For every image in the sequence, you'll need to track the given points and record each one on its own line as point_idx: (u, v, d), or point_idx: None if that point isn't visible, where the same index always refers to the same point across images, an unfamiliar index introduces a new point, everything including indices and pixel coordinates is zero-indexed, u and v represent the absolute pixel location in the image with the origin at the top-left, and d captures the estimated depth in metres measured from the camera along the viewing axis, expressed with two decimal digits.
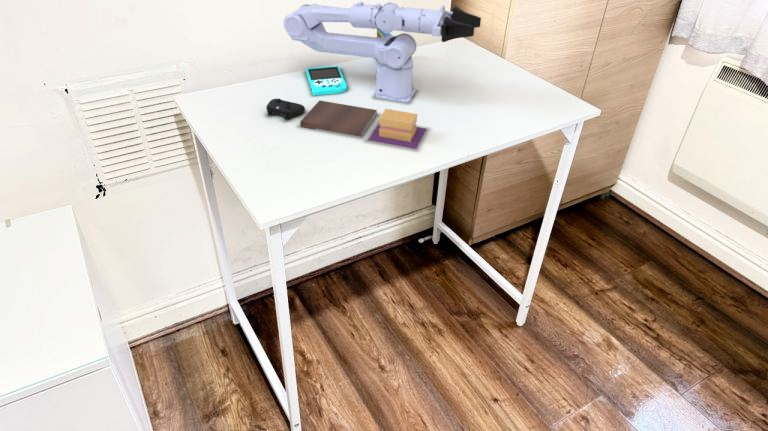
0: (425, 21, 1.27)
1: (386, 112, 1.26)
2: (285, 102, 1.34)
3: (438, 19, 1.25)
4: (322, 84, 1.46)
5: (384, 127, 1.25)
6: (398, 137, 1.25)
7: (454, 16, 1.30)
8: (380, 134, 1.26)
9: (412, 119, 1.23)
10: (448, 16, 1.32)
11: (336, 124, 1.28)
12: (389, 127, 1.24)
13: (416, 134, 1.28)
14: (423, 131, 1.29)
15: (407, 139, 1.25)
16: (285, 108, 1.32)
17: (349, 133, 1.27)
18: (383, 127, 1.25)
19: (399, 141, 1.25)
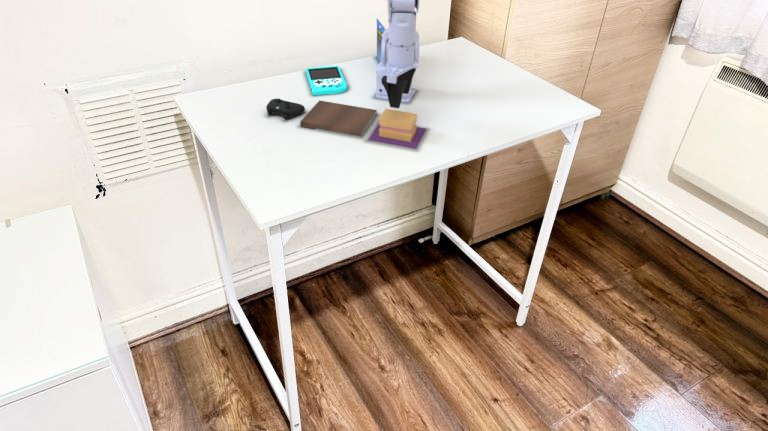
0: (401, 53, 1.12)
1: (386, 112, 1.26)
2: (285, 102, 1.34)
3: (404, 71, 1.13)
4: (322, 84, 1.46)
5: (384, 127, 1.25)
6: (398, 137, 1.25)
7: None
8: (380, 134, 1.26)
9: (412, 119, 1.23)
10: None
11: (336, 124, 1.28)
12: (389, 127, 1.24)
13: (416, 134, 1.28)
14: (423, 131, 1.29)
15: (407, 139, 1.25)
16: (285, 108, 1.32)
17: (349, 133, 1.27)
18: (383, 127, 1.25)
19: (399, 141, 1.25)
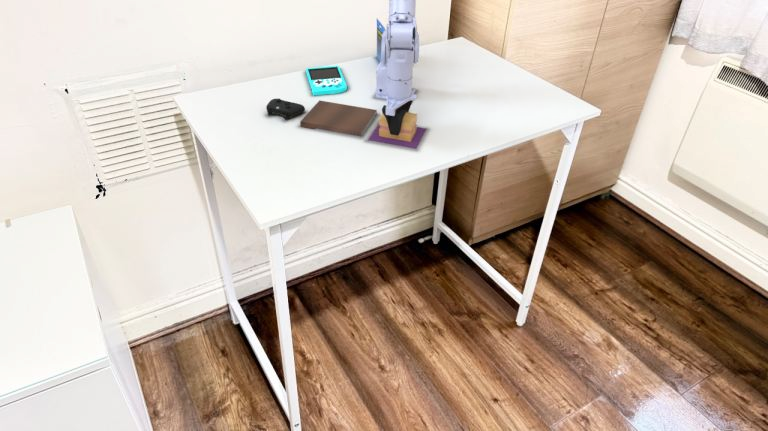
0: (399, 87, 1.17)
1: None
2: (285, 102, 1.34)
3: (402, 103, 1.18)
4: (322, 84, 1.46)
5: (384, 127, 1.25)
6: (398, 137, 1.25)
7: None
8: (380, 133, 1.26)
9: (412, 119, 1.23)
10: None
11: (336, 124, 1.28)
12: None
13: (416, 134, 1.28)
14: (423, 131, 1.29)
15: (407, 139, 1.25)
16: (285, 108, 1.32)
17: (349, 133, 1.27)
18: (383, 127, 1.25)
19: (399, 141, 1.25)
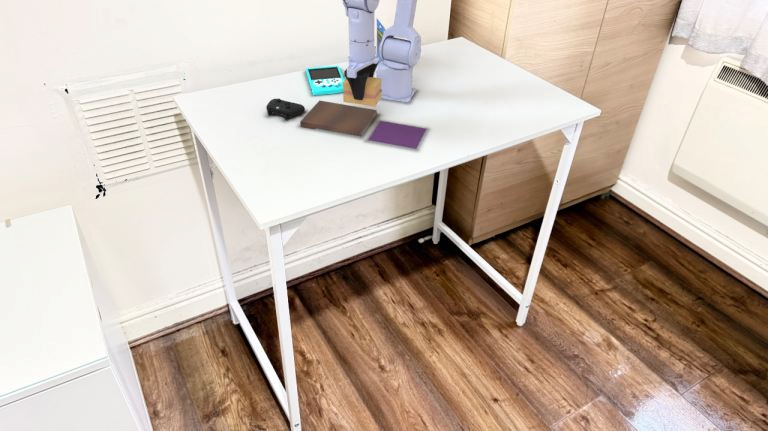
0: (361, 48, 1.15)
1: None
2: (285, 102, 1.34)
3: (364, 66, 1.17)
4: (322, 84, 1.46)
5: (348, 92, 1.23)
6: (362, 102, 1.24)
7: None
8: (344, 99, 1.25)
9: (376, 83, 1.22)
10: None
11: (336, 124, 1.28)
12: None
13: (416, 134, 1.28)
14: (423, 131, 1.29)
15: (371, 104, 1.23)
16: (285, 108, 1.32)
17: (349, 133, 1.27)
18: (347, 92, 1.24)
19: (399, 141, 1.25)
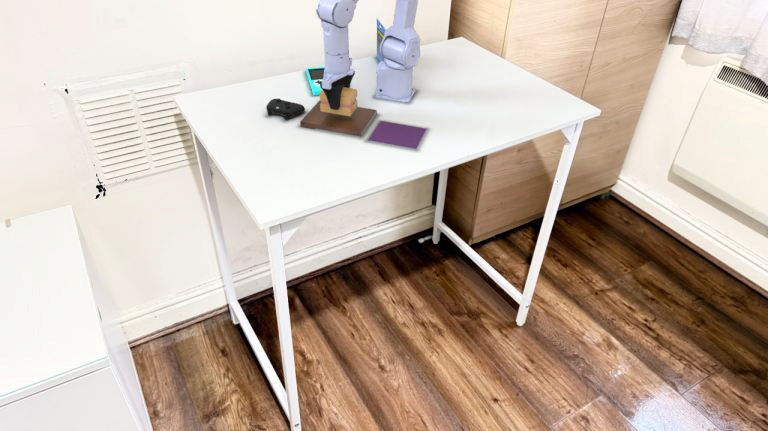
0: (335, 61, 1.20)
1: None
2: (285, 102, 1.34)
3: (339, 77, 1.21)
4: None
5: (324, 102, 1.28)
6: (338, 112, 1.28)
7: None
8: (321, 108, 1.29)
9: (351, 94, 1.26)
10: None
11: (336, 124, 1.28)
12: None
13: (416, 134, 1.28)
14: (423, 131, 1.29)
15: (347, 113, 1.28)
16: (285, 108, 1.32)
17: (349, 133, 1.27)
18: (323, 102, 1.28)
19: (399, 141, 1.25)
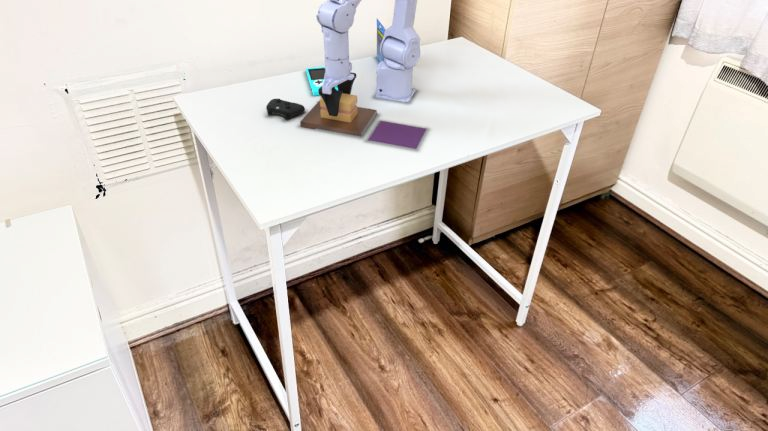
0: (336, 66, 1.21)
1: None
2: (285, 102, 1.34)
3: (339, 82, 1.22)
4: (322, 84, 1.46)
5: (325, 108, 1.29)
6: (339, 118, 1.29)
7: None
8: (322, 115, 1.30)
9: (351, 100, 1.28)
10: None
11: (336, 124, 1.28)
12: None
13: (416, 134, 1.28)
14: (423, 131, 1.29)
15: (347, 119, 1.29)
16: (285, 108, 1.32)
17: (349, 133, 1.27)
18: (324, 108, 1.29)
19: (399, 141, 1.25)
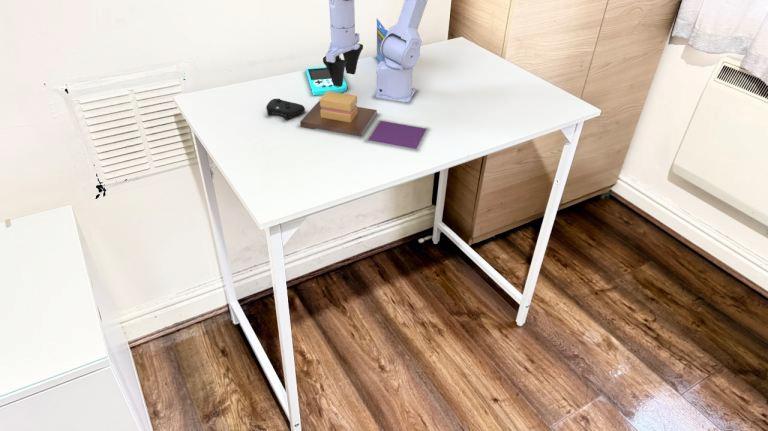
0: (340, 34, 1.20)
1: (327, 94, 1.30)
2: (285, 102, 1.34)
3: (343, 51, 1.21)
4: (322, 84, 1.46)
5: (325, 108, 1.29)
6: (339, 118, 1.29)
7: (353, 48, 1.28)
8: (322, 115, 1.30)
9: (351, 100, 1.28)
10: None
11: (336, 124, 1.28)
12: (329, 108, 1.29)
13: (416, 134, 1.28)
14: (423, 131, 1.29)
15: (347, 119, 1.29)
16: (285, 108, 1.32)
17: (349, 133, 1.27)
18: (324, 108, 1.29)
19: (399, 141, 1.25)
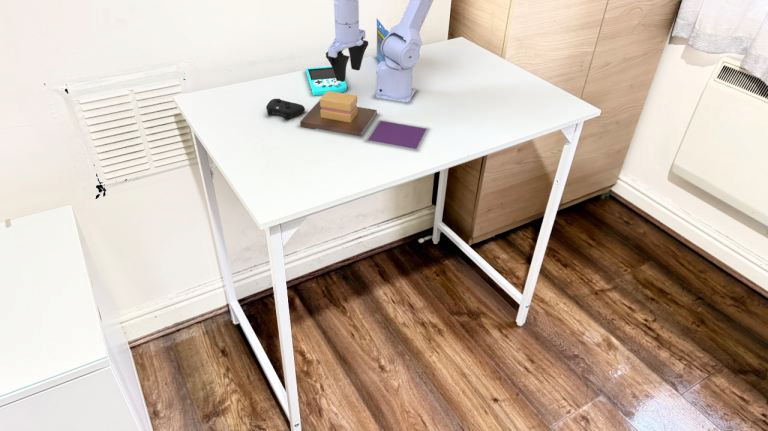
0: (344, 30, 1.22)
1: (327, 94, 1.30)
2: (285, 102, 1.34)
3: (346, 47, 1.23)
4: (322, 84, 1.46)
5: (325, 108, 1.29)
6: (339, 118, 1.29)
7: None
8: (322, 115, 1.30)
9: (351, 100, 1.28)
10: (358, 36, 1.30)
11: (336, 124, 1.28)
12: (329, 108, 1.29)
13: (416, 134, 1.28)
14: (423, 131, 1.29)
15: (347, 119, 1.29)
16: (285, 108, 1.32)
17: (349, 133, 1.27)
18: (324, 108, 1.29)
19: (399, 141, 1.25)
